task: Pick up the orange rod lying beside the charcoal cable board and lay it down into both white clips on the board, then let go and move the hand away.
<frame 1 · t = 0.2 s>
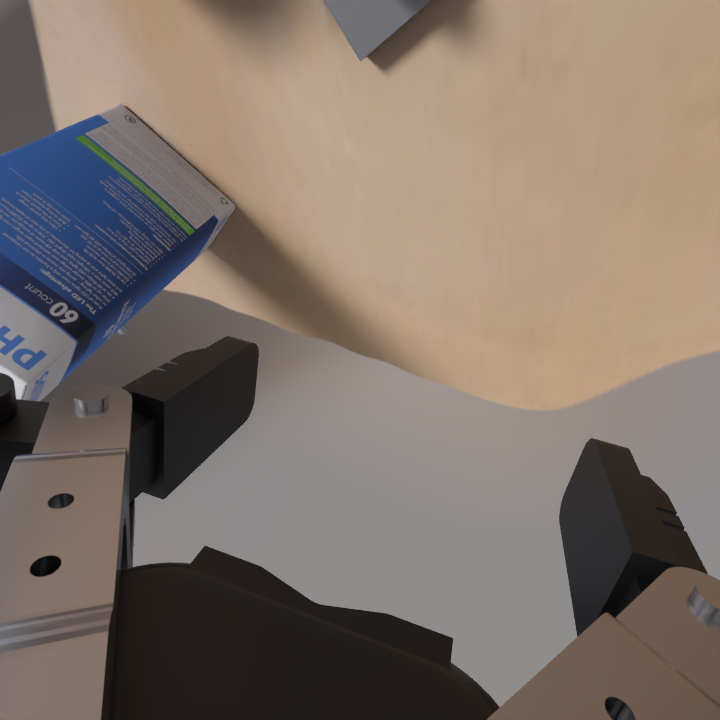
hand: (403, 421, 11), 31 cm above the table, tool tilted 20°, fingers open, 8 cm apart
string lights box: (171, 180, 47), on the table
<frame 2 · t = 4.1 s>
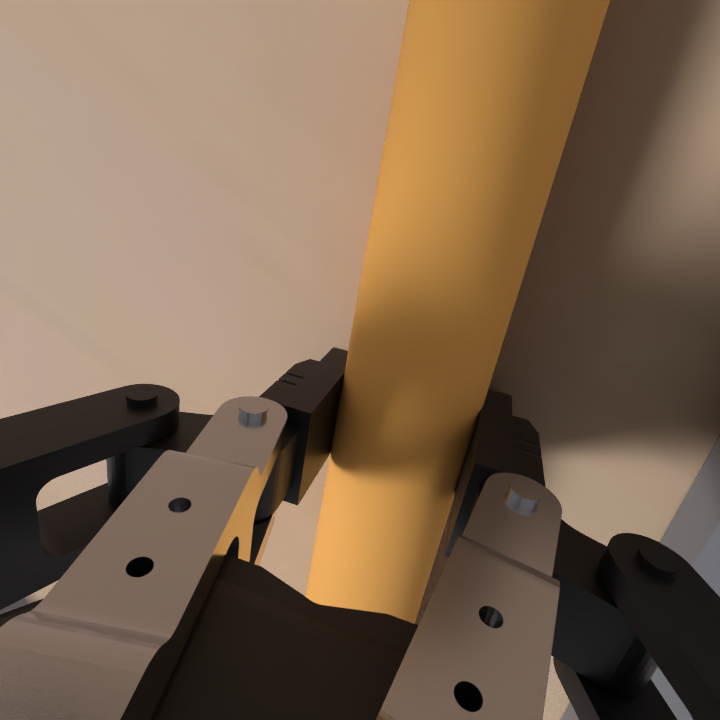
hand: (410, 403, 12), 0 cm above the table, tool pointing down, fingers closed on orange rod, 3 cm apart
orange rod: (414, 395, 13), on the table, touching gripper
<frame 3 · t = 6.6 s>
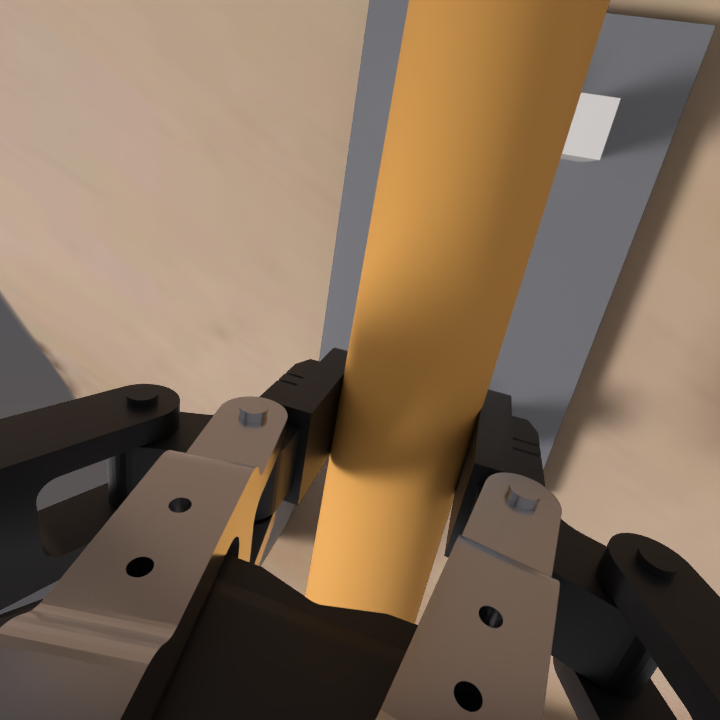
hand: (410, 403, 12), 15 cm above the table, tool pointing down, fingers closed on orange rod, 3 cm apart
cable board: (463, 278, 26), on the table
cup: (243, 487, 36), on the table
orange rod: (414, 397, 13), point 15 cm above the table, touching gripper
when the fingers open (4 cm above the table, at t = 9.1 s): orange rod stays where it is, resting on cable board.
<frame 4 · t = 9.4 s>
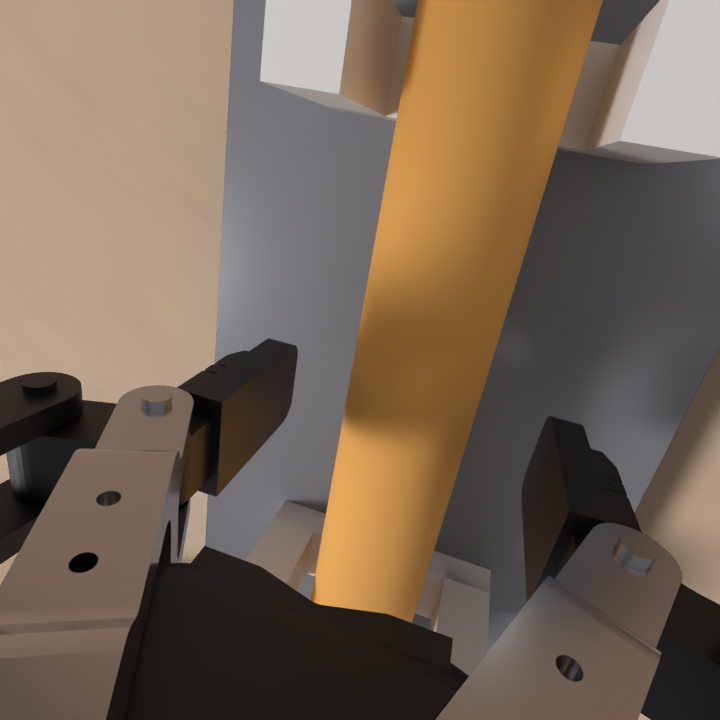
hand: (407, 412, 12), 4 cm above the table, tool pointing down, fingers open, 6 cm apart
cable board: (431, 353, 16), on the table
orange rod: (418, 383, 14), point 2 cm above the table, touching cable board
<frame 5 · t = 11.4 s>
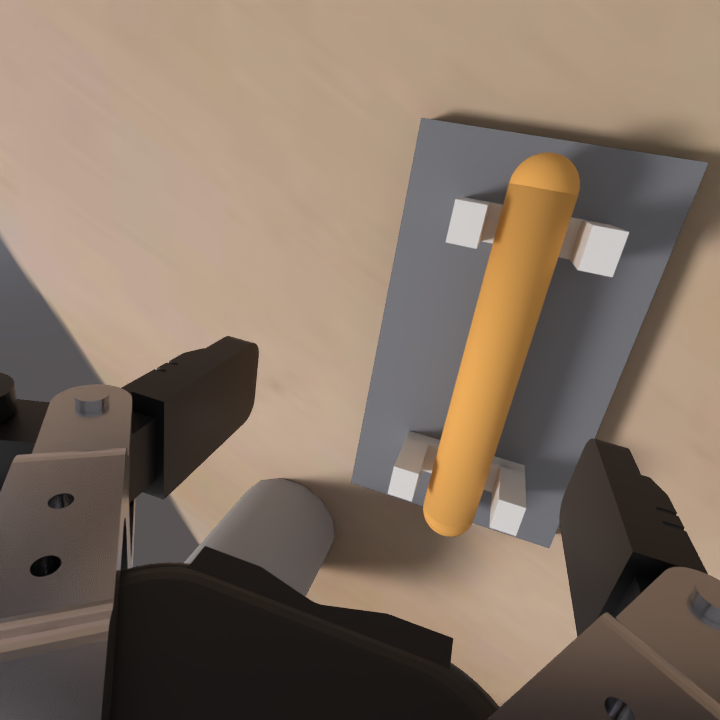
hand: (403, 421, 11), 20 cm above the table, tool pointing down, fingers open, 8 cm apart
cable board: (493, 348, 30), on the table
cup: (288, 520, 40), on the table
orange rod: (491, 362, 28), point 3 cm above the table, touching cable board
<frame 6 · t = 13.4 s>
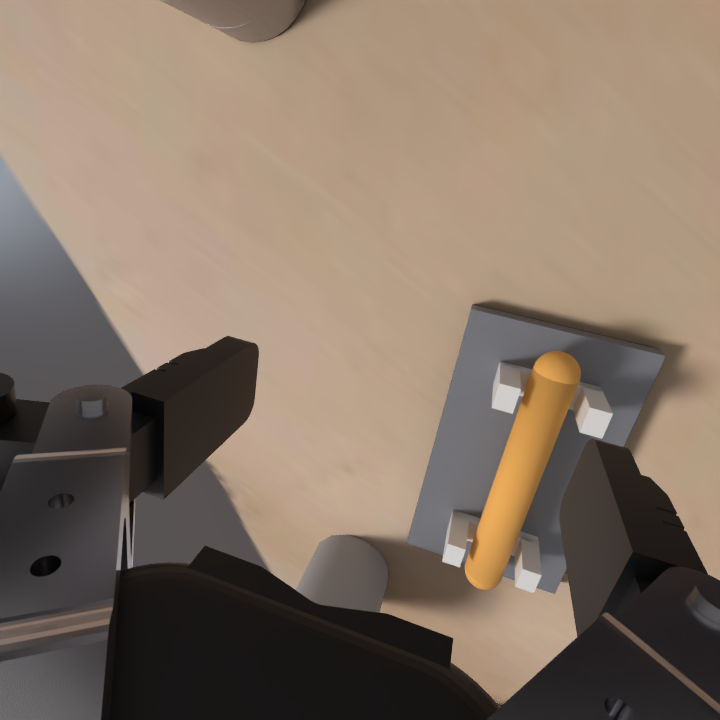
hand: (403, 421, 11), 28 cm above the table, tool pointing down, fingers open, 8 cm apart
cable board: (516, 454, 42), on the table
cup: (351, 565, 52), on the table
orange rod: (516, 470, 39), point 3 cm above the table, touching cable board
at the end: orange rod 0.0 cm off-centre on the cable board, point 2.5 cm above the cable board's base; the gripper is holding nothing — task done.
